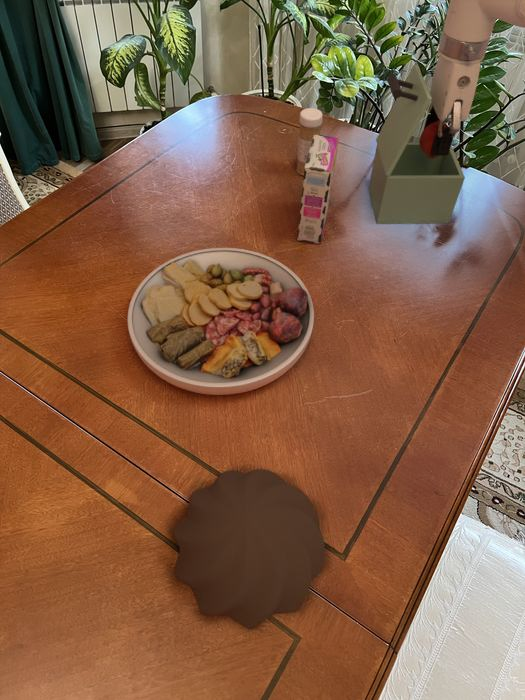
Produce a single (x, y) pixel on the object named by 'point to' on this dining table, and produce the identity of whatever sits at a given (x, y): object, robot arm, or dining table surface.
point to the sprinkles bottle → (307, 134)
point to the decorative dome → (249, 546)
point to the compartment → (416, 188)
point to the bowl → (220, 320)
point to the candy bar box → (317, 188)
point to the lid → (402, 116)
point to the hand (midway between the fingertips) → (435, 143)
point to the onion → (429, 137)
